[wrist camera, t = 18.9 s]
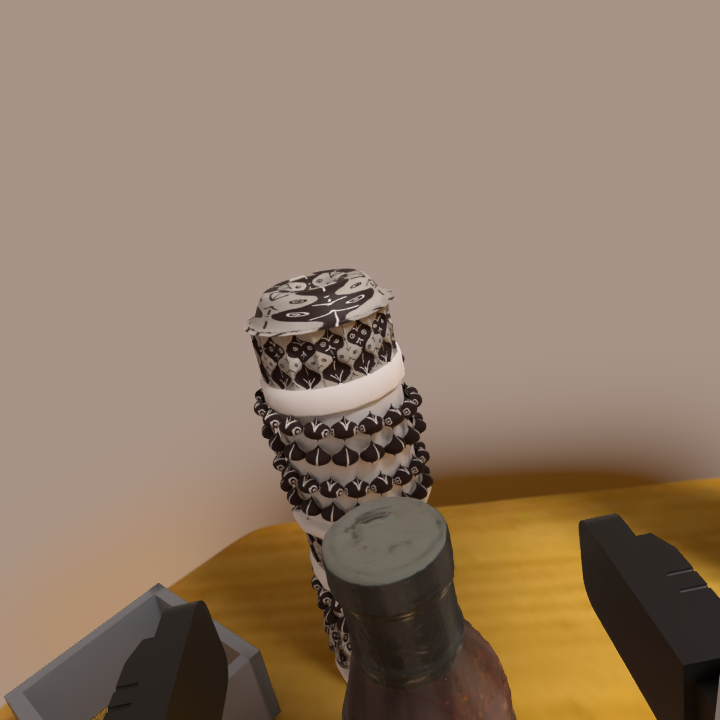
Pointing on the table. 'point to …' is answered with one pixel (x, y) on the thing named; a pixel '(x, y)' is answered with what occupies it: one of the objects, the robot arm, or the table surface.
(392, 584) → the sauce bottle
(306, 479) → the decorative candle
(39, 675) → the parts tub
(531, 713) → the table surface
